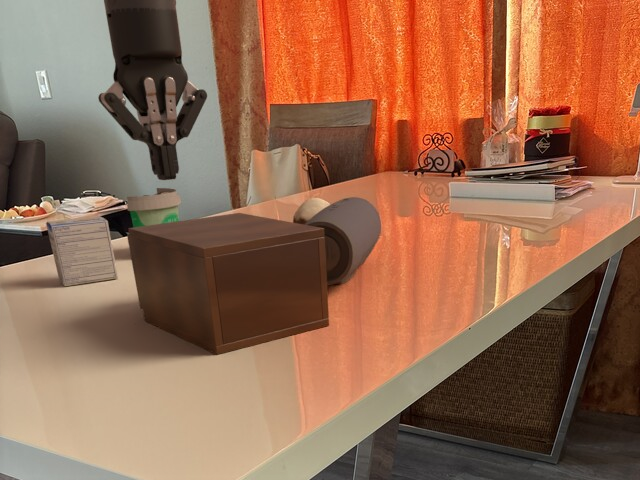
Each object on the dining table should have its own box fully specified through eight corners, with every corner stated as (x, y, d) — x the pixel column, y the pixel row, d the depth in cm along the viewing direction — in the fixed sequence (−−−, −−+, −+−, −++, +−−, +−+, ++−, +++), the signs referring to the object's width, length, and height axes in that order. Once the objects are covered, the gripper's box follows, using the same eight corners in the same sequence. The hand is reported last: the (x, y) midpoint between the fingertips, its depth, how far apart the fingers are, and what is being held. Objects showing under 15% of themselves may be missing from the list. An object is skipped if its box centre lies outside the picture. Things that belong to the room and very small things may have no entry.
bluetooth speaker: (328, 259, 115) (324, 193, 110) (385, 260, 114) (384, 192, 109) (290, 295, 96) (284, 216, 91) (358, 296, 94) (355, 216, 89)
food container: (171, 261, 118) (161, 196, 113) (136, 260, 119) (125, 197, 114) (199, 246, 129) (191, 187, 124) (167, 246, 130) (158, 187, 125)
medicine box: (111, 274, 111) (100, 215, 107) (119, 279, 107) (107, 218, 103) (58, 281, 107) (44, 221, 103) (64, 287, 104) (50, 225, 100)
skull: (307, 228, 135) (336, 187, 128) (342, 270, 134) (372, 230, 127) (266, 237, 126) (295, 192, 119) (303, 281, 125) (333, 239, 118)
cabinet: (144, 321, 87) (127, 228, 82) (248, 298, 95) (239, 212, 90) (216, 354, 75) (202, 248, 69) (329, 325, 83) (324, 228, 77)
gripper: (180, 13, 84) (201, 172, 92) (68, 9, 77) (102, 182, 85) (211, 6, 79) (230, 176, 87) (95, 2, 72) (127, 187, 80)
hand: (166, 179), depth 86 cm, fingers closed
